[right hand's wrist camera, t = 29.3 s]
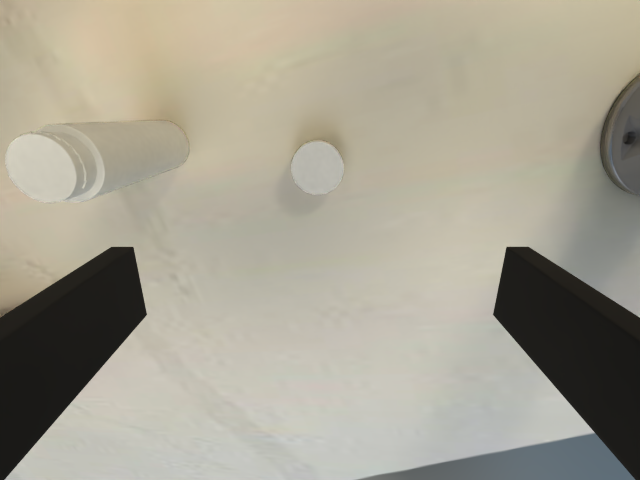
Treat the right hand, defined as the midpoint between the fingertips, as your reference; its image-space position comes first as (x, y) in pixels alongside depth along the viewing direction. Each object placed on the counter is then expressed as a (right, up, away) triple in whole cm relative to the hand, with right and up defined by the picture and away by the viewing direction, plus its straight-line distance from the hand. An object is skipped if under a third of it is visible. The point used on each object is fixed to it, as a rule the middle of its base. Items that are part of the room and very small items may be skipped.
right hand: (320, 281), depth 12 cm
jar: (-17, +12, +27) cm, 34 cm away
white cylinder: (0, +9, +25) cm, 27 cm away
